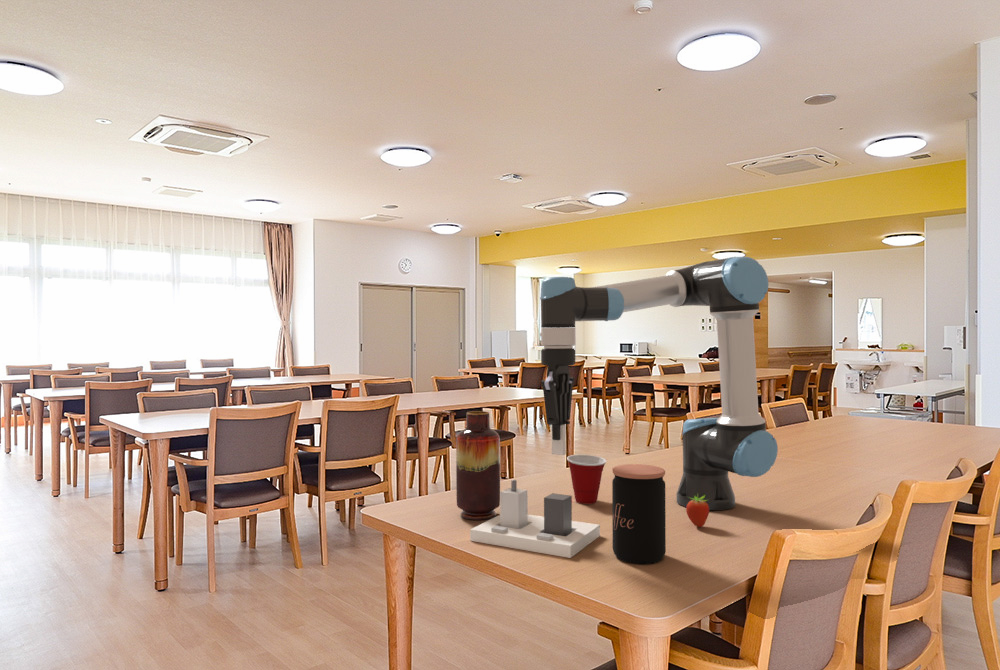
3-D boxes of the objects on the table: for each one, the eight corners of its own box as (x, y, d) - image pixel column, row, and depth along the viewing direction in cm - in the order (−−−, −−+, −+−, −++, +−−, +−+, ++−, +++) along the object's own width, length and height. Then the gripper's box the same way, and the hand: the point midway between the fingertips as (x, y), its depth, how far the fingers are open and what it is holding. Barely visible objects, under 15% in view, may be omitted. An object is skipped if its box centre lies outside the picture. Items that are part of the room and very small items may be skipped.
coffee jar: (606, 549, 141) (606, 464, 141) (655, 547, 142) (655, 463, 142) (620, 566, 130) (619, 475, 130) (673, 564, 131) (672, 473, 131)
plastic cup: (586, 508, 173) (586, 463, 173) (558, 500, 182) (558, 457, 182) (615, 502, 180) (614, 458, 180) (587, 494, 188) (586, 452, 188)
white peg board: (599, 535, 150) (599, 481, 150) (570, 558, 135) (570, 497, 135) (506, 521, 162) (506, 470, 162) (470, 540, 147) (470, 484, 147)
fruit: (705, 531, 153) (705, 497, 153) (683, 528, 156) (683, 494, 156) (711, 525, 157) (711, 492, 157) (690, 522, 160) (690, 489, 160)
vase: (467, 523, 160) (467, 415, 160) (449, 513, 170) (449, 411, 170) (507, 517, 165) (507, 413, 165) (488, 507, 175) (487, 409, 175)
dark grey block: (571, 540, 147) (571, 495, 147) (563, 546, 143) (563, 500, 143) (552, 537, 149) (552, 493, 149) (544, 543, 145) (544, 497, 145)
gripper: (554, 346, 153) (555, 448, 153) (529, 347, 142) (530, 457, 142) (585, 346, 150) (585, 450, 150) (561, 348, 138) (562, 460, 138)
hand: (558, 454), depth 146 cm, fingers closed
